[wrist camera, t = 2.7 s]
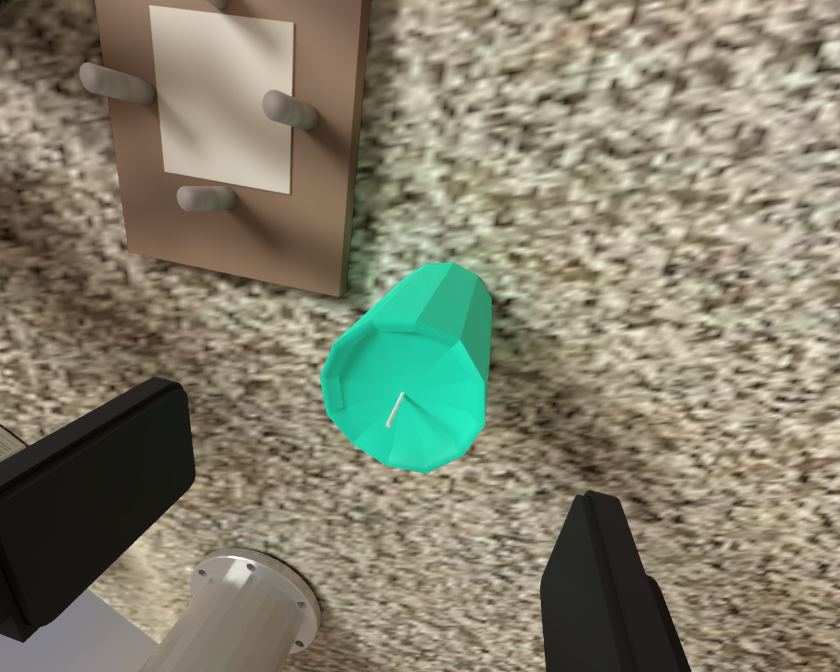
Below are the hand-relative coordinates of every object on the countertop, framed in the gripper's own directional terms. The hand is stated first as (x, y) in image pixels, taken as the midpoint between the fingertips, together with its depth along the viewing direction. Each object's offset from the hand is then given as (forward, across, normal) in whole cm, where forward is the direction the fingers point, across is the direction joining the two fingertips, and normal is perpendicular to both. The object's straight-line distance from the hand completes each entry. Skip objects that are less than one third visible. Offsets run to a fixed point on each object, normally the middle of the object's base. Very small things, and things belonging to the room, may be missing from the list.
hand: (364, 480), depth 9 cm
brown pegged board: (+15, +13, -8) cm, 22 cm away
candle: (+15, 0, +1) cm, 15 cm away
